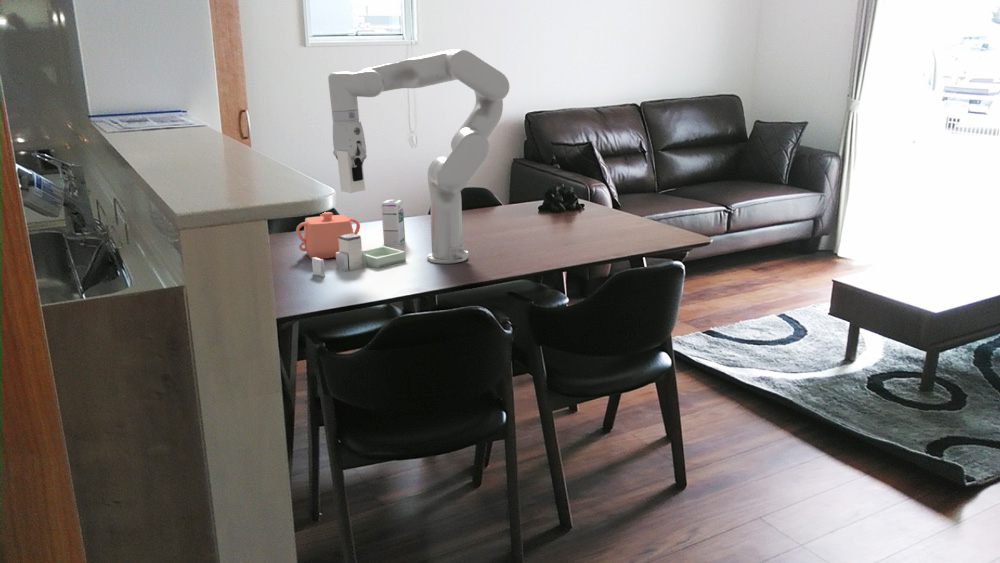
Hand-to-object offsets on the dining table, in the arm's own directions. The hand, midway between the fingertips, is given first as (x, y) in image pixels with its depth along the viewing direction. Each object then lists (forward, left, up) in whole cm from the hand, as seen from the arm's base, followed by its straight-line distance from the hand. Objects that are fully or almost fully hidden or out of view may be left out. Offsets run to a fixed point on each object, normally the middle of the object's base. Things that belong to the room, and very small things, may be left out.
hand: (352, 179), depth 233 cm
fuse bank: (+1, +5, -27) cm, 27 cm away
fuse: (0, 0, -3) cm, 3 cm away
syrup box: (+15, -26, -27) cm, 40 cm away
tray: (0, -9, -27) cm, 28 cm away
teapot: (+21, -4, -27) cm, 34 cm away
